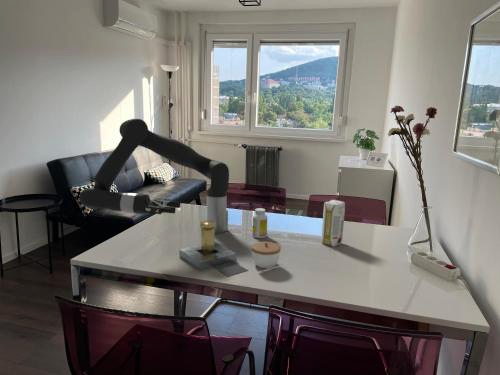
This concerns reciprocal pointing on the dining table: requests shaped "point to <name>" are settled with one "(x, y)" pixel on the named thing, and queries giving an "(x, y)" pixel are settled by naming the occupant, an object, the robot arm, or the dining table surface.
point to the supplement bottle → (259, 223)
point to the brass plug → (207, 237)
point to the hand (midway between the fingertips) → (177, 207)
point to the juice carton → (333, 222)
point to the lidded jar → (265, 254)
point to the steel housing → (209, 261)
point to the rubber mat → (230, 269)
